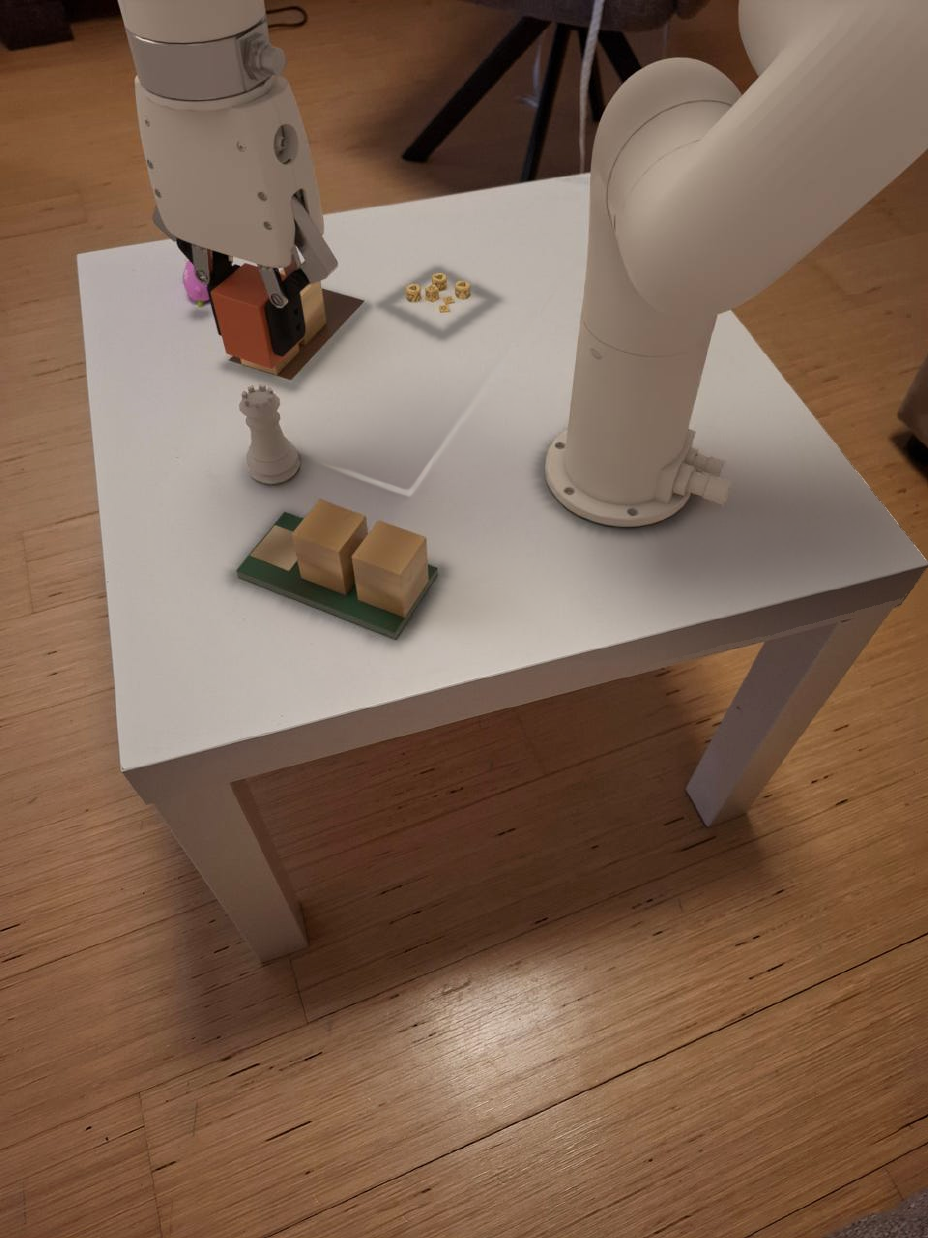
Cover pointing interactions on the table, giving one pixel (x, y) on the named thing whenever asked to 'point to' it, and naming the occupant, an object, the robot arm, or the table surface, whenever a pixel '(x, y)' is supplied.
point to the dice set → (433, 291)
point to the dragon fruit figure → (194, 285)
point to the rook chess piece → (267, 438)
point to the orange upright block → (245, 316)
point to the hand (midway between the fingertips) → (262, 333)
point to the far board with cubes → (312, 328)
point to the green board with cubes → (344, 566)
